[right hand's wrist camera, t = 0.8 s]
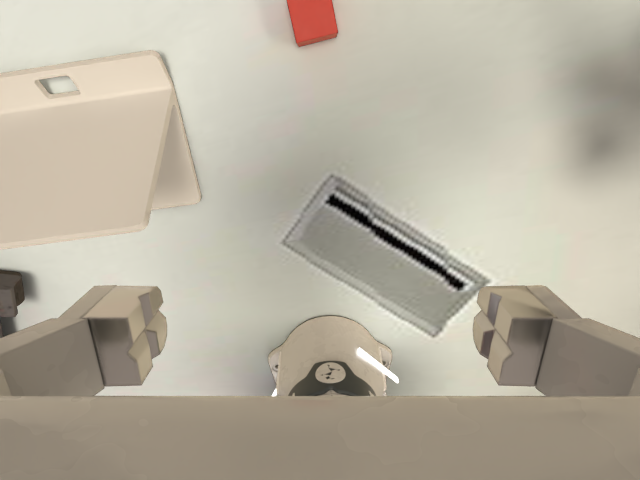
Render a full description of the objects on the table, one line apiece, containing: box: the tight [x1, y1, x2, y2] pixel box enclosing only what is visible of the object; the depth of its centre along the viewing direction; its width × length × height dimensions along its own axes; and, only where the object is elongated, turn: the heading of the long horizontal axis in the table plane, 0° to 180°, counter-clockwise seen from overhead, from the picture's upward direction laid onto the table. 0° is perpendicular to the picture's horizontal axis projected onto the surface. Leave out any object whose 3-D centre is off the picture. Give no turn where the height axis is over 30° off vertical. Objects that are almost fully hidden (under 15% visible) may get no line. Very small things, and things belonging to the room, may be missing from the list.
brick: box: [287, 0, 338, 47], centre depth 42 cm, size 5×4×4 cm
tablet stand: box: [0, 50, 201, 250], centre depth 41 cm, size 18×25×17 cm
